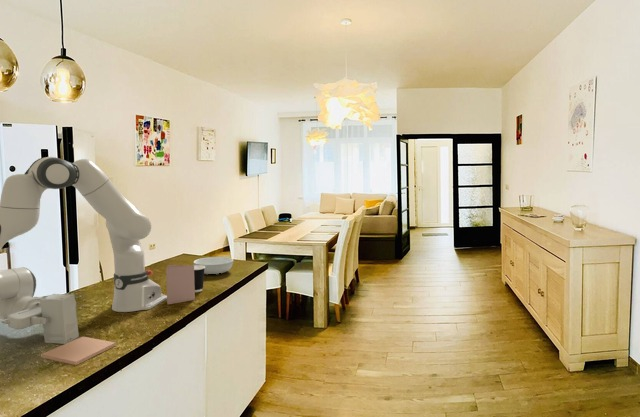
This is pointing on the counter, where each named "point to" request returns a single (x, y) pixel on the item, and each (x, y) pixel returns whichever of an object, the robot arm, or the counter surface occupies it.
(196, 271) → the dixie cup
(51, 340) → the skincare box
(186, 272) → the greeting card
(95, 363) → the counter surface
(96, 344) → the terracotta mat
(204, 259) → the serving bowl
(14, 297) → the robot arm
